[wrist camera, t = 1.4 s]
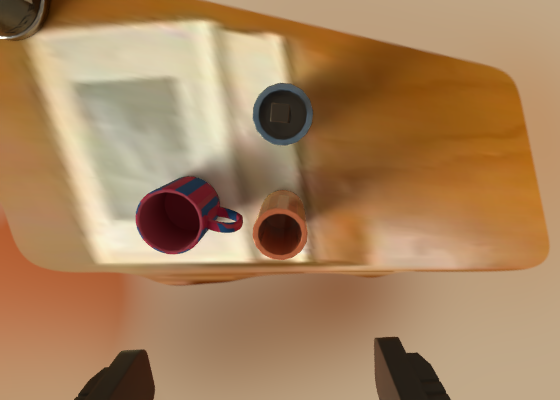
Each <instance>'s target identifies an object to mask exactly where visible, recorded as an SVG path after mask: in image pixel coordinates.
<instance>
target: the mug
mask: <svg viewBox="0 0 560 400" xmlns="http://www.w3.org/2000/svg"><path fill="white" fill-rule="evenodd" d="M217 217H225V218H229V219H232V220H234V221H236V222H232V223H225V222H219V221H215V220H216V219H217ZM242 224H243V217H242V215H241V214H239V213H238V212H235V211H233V210H230V209H226V208H223V207H220V202H219V198H218V195H217V193H216V191H215V190H214V189H213V187H212V186H211V185H210V184H209V183H207V182H206V181H204V180H202V179H200V178H197V177H189V176H188V177H182V178H179V179H177V180H175V181H173V182H171V183H169V184H166V185H164V186H162V187H160V188H158V189H156V190H154V191H152V192H150V193H148V194H147V195H146V196H145V197H144V198H143V199H142V200H141V201H140V203H139V205H138V208H137V211H136V225H137V229H138V231H139V233H140V235H141V237H142V238H143V240H144V241H145V242H146V243H147V244H148V245H149V246H151V247H152V248H154V249H155V250H157V251H160V252H162V253H166V254H180V253H184V252H186V251H188V250H190V249H192V248H193V247H194V246H195V245H196V244H197V243H198V242H199V241H200V240H201V238H202V237H203V236H204V234H205V233H206V232H207V231H208V229H210V230H213V231H217V232H223V233H231V232H235V231H237V230H239V229H240V228H241V227H242Z"/></svg>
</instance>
